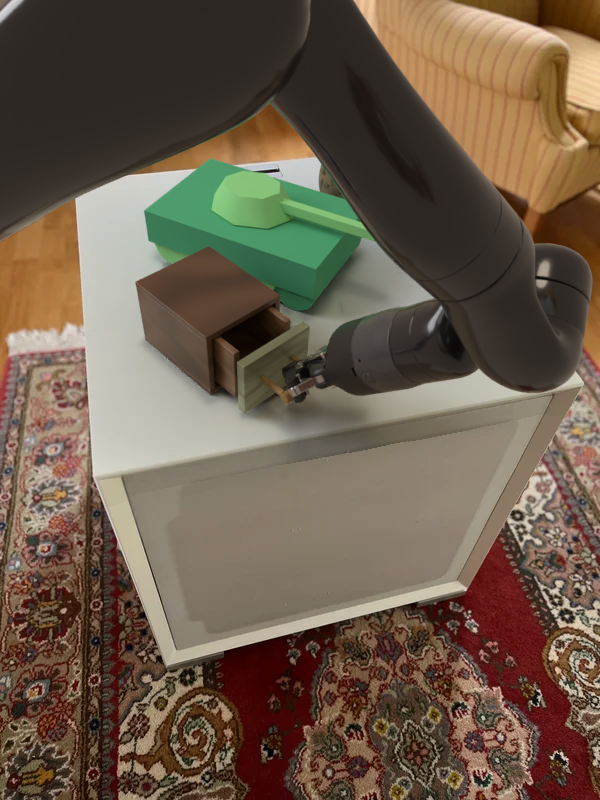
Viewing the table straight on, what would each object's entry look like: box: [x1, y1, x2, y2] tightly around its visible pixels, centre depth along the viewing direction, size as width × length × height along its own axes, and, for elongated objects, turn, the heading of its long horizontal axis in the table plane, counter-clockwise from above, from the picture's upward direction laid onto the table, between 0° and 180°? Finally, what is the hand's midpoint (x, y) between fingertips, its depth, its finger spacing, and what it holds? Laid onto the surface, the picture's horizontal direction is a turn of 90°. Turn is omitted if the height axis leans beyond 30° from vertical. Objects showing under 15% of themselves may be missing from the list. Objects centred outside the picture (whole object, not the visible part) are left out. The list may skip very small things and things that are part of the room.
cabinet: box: [134, 246, 281, 396], centre depth 81 cm, size 14×12×10 cm
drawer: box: [212, 306, 311, 414], centre depth 77 cm, size 17×10×8 cm, turn 45°
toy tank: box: [143, 158, 376, 312], centre depth 93 cm, size 18×12×35 cm
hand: (289, 374), depth 74 cm, fingers closed
